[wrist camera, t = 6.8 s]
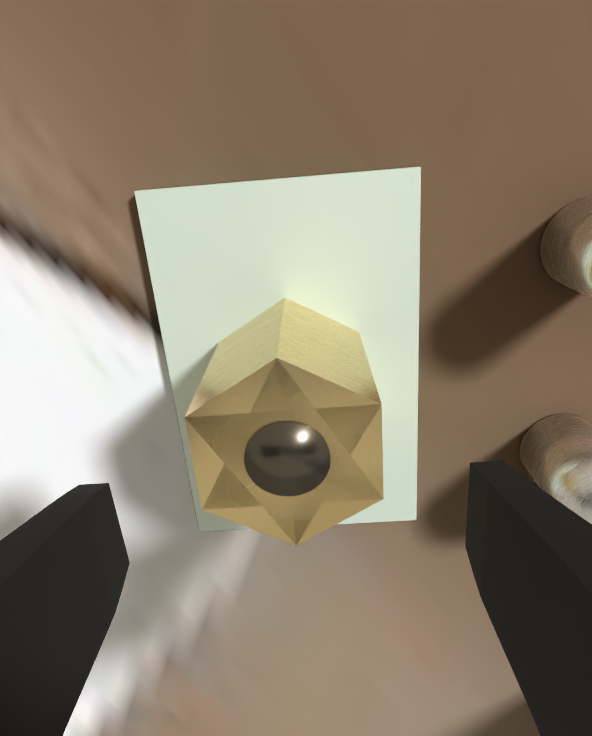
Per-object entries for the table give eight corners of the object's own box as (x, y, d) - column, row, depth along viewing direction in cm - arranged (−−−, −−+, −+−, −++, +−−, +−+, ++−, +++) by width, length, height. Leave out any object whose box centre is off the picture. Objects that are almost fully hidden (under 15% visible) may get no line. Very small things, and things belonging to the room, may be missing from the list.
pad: (414, 513, 19) (416, 520, 19) (201, 524, 19) (199, 531, 19) (417, 166, 14) (420, 166, 14) (138, 190, 15) (134, 191, 14)
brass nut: (362, 438, 17) (384, 542, 13) (234, 446, 18) (209, 551, 13) (357, 291, 15) (380, 350, 11) (213, 302, 16) (174, 365, 11)
